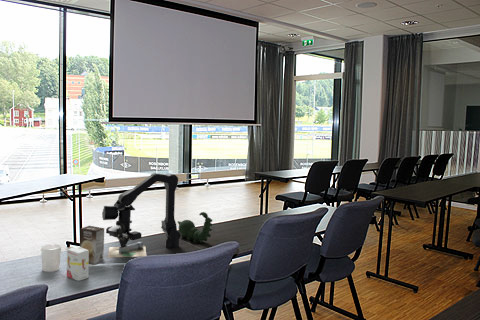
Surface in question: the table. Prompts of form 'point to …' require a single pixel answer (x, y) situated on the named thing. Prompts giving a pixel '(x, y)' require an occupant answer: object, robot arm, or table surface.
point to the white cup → (51, 257)
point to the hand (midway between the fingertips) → (122, 249)
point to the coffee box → (93, 243)
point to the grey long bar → (130, 247)
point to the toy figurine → (195, 229)
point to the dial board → (136, 253)
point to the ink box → (77, 263)
